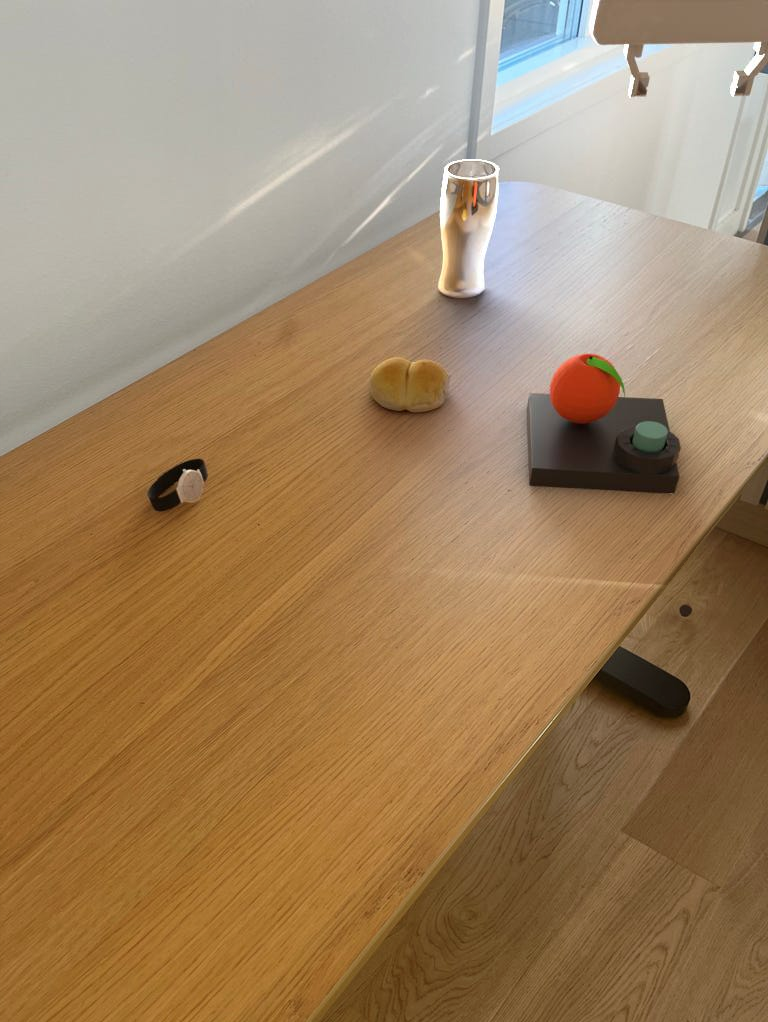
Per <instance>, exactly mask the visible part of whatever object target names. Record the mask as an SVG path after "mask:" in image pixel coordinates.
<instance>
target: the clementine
mask: <svg viewBox="0 0 768 1022" xmlns="http://www.w3.org/2000/svg"><path fill="white" fill-rule="evenodd" d="M621 389H622V393H623V397H626V392H625V384H624V382H623V379H622V377H621V376H620V374H619V373H618V371H617V369H616V367H615V366H614V365H613V364H612V362H611V361H609V360H608V359H606V358H605V357H603V356H602V355H598V354H595V353H581V354H577V355H574V356H571V357H570V358H568V359H566V360H565V361H564V362H563V363H561V364H560V365H559V366H558V367H557V369H556V370H555V371H554V374H553V376H552V377H551V381H550V384H549V394H550V399H551V402H552V405H553V407H554V409H555V410H556V411H557V413H558V414H559V415H560V416H561V417H563V418H565V419H566V420H568V421H570V422H573V423H578V424H585V423H590V422H594V421H597V420H599V419H601V418H602V417H604V416H605V415H607V414H608V413H609V412H610V411H611V409H612V408H613V407H614V406H615V404H616V401H617V399H618V397H620V393H621Z"/></svg>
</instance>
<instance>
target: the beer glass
mask: <svg viewBox="0 0 768 1022" xmlns="http://www.w3.org/2000/svg"><path fill="white" fill-rule="evenodd" d="M499 172H500V168H499V166H498V165H496V164H495V163H493V162H491V161H487V160H482V159H462V160H461V159H460V160H457V161H452V162H450V163H448V164H447V165H446V166H445V167H444V173H443V180H442V187H441V195H440V196H441V197H440V204H439V205H440V206H439V223H440V235H441V244H442V266H441V272H440V275H439V279H438V283H437V288H438V291H439V292H440V293H441V292H442V293H441V294H442V295H445V296H447V297H450V298H454V299H469V298H473V297H477V296H479V295H481V294H482V293H483V292H484V290H485V276H484V265H485V264H484V263H485V258H486V253H487V249H488V246H489V242H490V239H491V237H492V236H491V235H492V232H493V229H494V224H495V220H496V215H497V207H498V199H499V174H500V173H499Z"/></svg>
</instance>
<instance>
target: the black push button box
mask: <svg viewBox="0 0 768 1022" xmlns="http://www.w3.org/2000/svg"><path fill="white" fill-rule="evenodd" d="M646 421H651V422H657V423H660V424H662V425H664V426H665V427H666V428H667V430H668V434H667V438H666V441H665V445H664V448H663V449H662V450H661V451H659V452H645V451H642V450H639V449H636V448H635V447H634V446H633V444H632V440H633V436H634V433H635V429H636V426H637V425H638V424H639V423H642V422H646ZM526 432H527V433H526V437H527V465H528V486H530V487H543V488H559V489H560V488H561V489H576V490H577V489H580V490H593V491H595V490H596V491H614V492H631V493H649V494H663V493H668V494H667V495H670V494H669V493H674V494H675V493H676V489H677V486H678V483H679V480H680V473H679V468H678V463H677V462H678V458H679V455H680V453H681V448H682V447H681V443H680V438H679V437H677V436H676V435H675V434H674V433H673V432H671V430H670V426H669V422H668V416H667V413H666V408H665V403H664V399H663V398H652V397H651V398H650V397H629V396H627V397H626V396H618V399H617V401H616V404H615V406H614V407H613V408H612V409H611V411H610V412H609V413H608V414H607V415H605V416H604V417H602V418H601V419H599V420H597V421H594V422H590V423H585V424H578V423H573V422H570V421H568V420H566V419H565V418H563V417H561V416H560V415H559V414H558V413H557V411H556V410H555V409H554V407H553V405H552V402H551V399H550V393H541V392H540V393H539V392H538V393H537V392H529V393H528V398H527V405H526Z"/></svg>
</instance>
